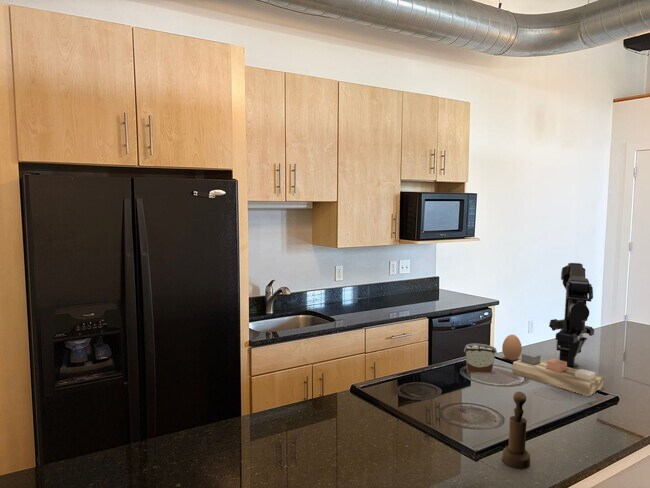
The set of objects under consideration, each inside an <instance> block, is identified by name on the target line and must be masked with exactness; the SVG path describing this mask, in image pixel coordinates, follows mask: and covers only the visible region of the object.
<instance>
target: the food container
mask: <svg viewBox="0 0 650 488" xmlns="http://www.w3.org/2000/svg"><path fill="white" fill-rule="evenodd" d="M463 352H464V353H465V361H466V363H465V365H466V373H468V372H477V373H476V374H485V373H490V374H491V375H493V371H494V363H495V358H496V354H497V355H498V352H497V348H496V347H494V346H492V345H489V344H485V343H484V344H483V343H469V344H466V345H465V347H464V349H463Z"/></svg>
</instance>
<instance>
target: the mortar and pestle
mask: <svg viewBox="0 0 650 488" xmlns="http://www.w3.org/2000/svg"><path fill="white" fill-rule="evenodd" d="M512 399H513V401H514V404H515V408H514V409H513V412H514V415H511V416H509V428H508V446H505V448H503V449H502V457H501V459H502V461H503V463H504V464H505V465H507V466H509V467H512V468H515V469H525V468H528V467H530V465H531V454H530V453H529V452H528V451H527V450H526V440H527V438H526V437H527V422H528V420H527V419H526V418H525V417H523V416H524V412H525V410H524V409H523V406H524V405H525V403H526V401H527V395H526V394H525V393H524V392H521V391H515V392H514V394H513V398H512Z"/></svg>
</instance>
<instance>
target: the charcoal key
mask: <svg viewBox="0 0 650 488" xmlns="http://www.w3.org/2000/svg"><path fill="white" fill-rule="evenodd" d="M541 356H542V355H541V354H538V353H535V352H530V351H526V352H524V353H521V359H522V360H521V362H525V363H528V364H532V365H535V364H538V363H540V360H542V359H541Z"/></svg>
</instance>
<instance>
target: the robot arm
mask: <svg viewBox="0 0 650 488" xmlns="http://www.w3.org/2000/svg"><path fill="white" fill-rule="evenodd" d="M583 266H584V265H583V263H581V262H580V263H579V262H568V263H567V265H565V266H564V267H562V268H561V273H560V280H562V282H561V283H562V285H563V287H564V289H565V302H564V319H557V318H555V319H550V320H549V322H548V323H549V324H548V327H549V328H551V331H554V332H555V331H556V330H557V331H558V330H559V331H558V332H556V334H555V340H556V341H555V348H556V351H559V357H558V360H562V361H565V362H567V367H569V368H573V369H575V368H576V367H578V366H579V365H578V364H577V363H575V361H576V357H577V356H578V354H580V353H582V347H583V345H585V343H586V341H588V337H584V335H583V334H588V335H589V336H590V337H591V336H594V335H595V329H594V328H593V327H592V326H590V325H589V326H588V325H586V322H587V321H588V318H589V316H590V309H589V307H588V306H587V302H592V299H594V289H593V286H592V285H593V284H591V283H590V281H589V279H588V278H586V268H584V267H583Z"/></svg>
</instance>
